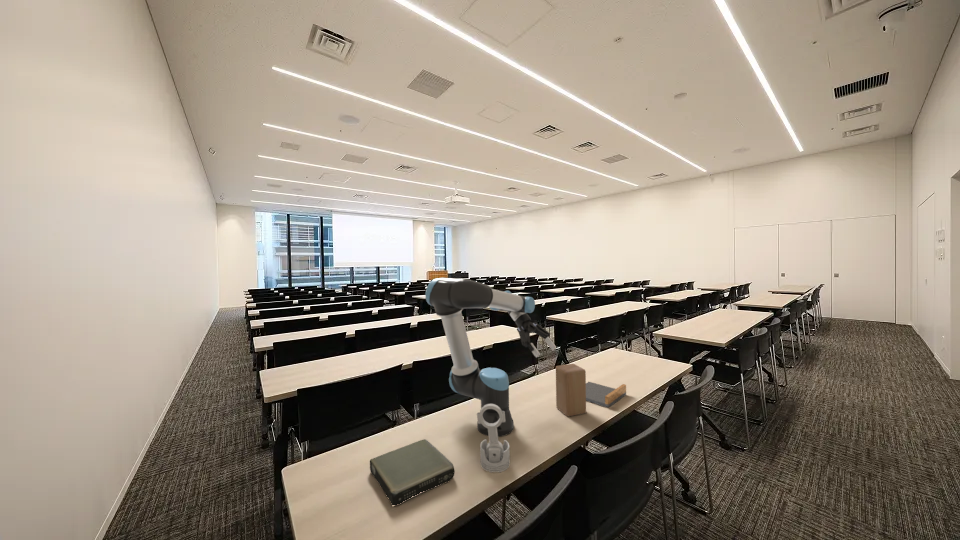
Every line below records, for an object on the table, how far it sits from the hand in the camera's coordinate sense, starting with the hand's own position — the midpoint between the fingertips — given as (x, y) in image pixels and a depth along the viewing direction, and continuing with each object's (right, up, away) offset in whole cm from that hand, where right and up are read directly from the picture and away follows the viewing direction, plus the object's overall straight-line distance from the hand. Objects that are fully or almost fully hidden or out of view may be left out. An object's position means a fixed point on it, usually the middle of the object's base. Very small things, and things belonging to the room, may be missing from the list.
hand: (546, 352), depth 159 cm
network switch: (-54, -29, -49) cm, 78 cm away
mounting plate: (+27, -24, +9) cm, 37 cm away
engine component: (-27, -27, -44) cm, 58 cm away
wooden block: (+10, -25, -7) cm, 28 cm away
